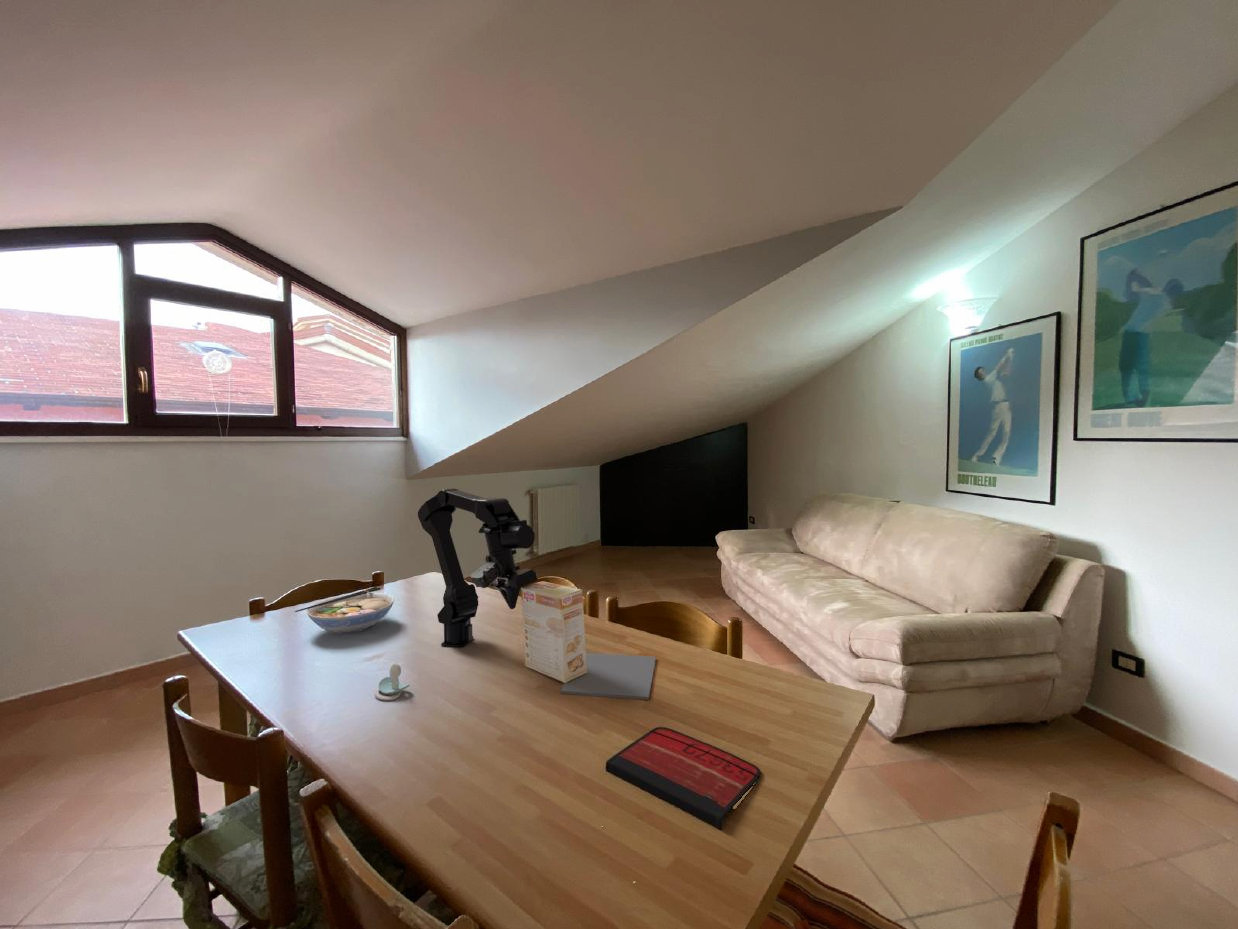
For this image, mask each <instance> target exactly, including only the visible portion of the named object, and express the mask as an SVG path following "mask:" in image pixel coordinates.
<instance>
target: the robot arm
mask: <svg viewBox="0 0 1238 929" xmlns="http://www.w3.org/2000/svg"><path fill="white" fill-rule="evenodd" d="M457 509H459V510H463V511H466V512H469V513H472V514H474V517H475V518H476V519H477V520H479V521H480V522H482V525H481V527H480V528H479V529H478V534H484V537H485V542H486V547H487V551H488V554H487V555H485V558H484V559H485V563H484V564H483V565H481V566H480V567H479V568H477V570H475V571H474V572H473V573H471V575H470V576H469V578H470V579H471V580H472V582H473V583H470V584H469V583H468V582H467V581H466V580H465V577H464V574H463V571H462V567H461V563H460V561H459V556H458V554H457V551H456V546H455V544H454V540H453V537H452V534H451V528H452V524H453V521H454V520H453V514H454V513H455V512H456V511H457ZM417 518H418V520H419V522H420V524H421V527H422V529H423V530H424V531H425V532H426V533H427V534H428V535H429V536H430V537H431V540H432V542H433V546H434V549H435V553H436V556H437V560H438V563H439V567H440V571H441V574H442V578H443V581H444V585H445V590H444V594H443V596H442V602H443V607H442V608H441V609H440V610H439V611H438V613H436V614H437V615H436V616H437V619H438V620H437V621H438V623H440V624H442V625H443V642H441V644H440V646H441V647H453V648H455V647H456V648H457V647H459V648H464V647H465V646H467V644H469V643H470V642H472V640H473V639H474V635H473V623H472V621H471V620H472V618H476V617H477V616H476V615H477V610H478V606H479V596H478V594H477V591H476V588H482V589H486V588H488V587H492V588H494V589H495V590H498V591H499V593H500V594H501V596H502V597H503V599H504V601H505V602H506V604H507V606H508V608H509V609H510V610H514V609H516V607H517V602H518V599H519V595H520V592H521V587H523V586H527V585H530V584H532V583H535V581H538V574H537V570H534V569H533V568H520V565H519V564H516V560H515V557H514V556H515V555H516V554H517V550H518V549H519V550H525V549H530V548H531V547H532V546H533V544H534V542H535V538H536V537H535V532H534V529H533V528H532V527H531V526H530V525H529V524H528V521H527V519H522V520H520V518H519V516H518V514H516V512H515V510H514V509H513V507H512V505H511V504H510V503H509V500H508V499H507V498H505V497H481V496H478V495H475V494H472V493H468V492H467V491H466V492H465V491H462V490H460V489H458V488H444V489H441V490H439V491H438V493H437V494H436V495H433V496H432V497H431V498H429V499H428V500H426V501H424V503H423V504H422V505H421V506H420V508H419V509H418V511H417Z"/></svg>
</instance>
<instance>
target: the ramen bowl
mask: <svg viewBox="0 0 1238 929" xmlns="http://www.w3.org/2000/svg"><path fill="white" fill-rule="evenodd" d="M380 590H381V587H378V586H374V587H371V588H366V589H364V590H363V589H362V590H360V591H356V592H353V593H351V594H343V595H339V596H333V597H328V598H326V599H323V600H319V601H317V602H315V603H313V604H311V605H309V606H307V607H304V608H301V609H297V610H294V611H293V612H294V613H297V612H302V611H305V610H306V611H305V613H306V614H307V616H308V618H309V619H311V621H312V622H313V623H314V624H316V625H317V626H318V627H319V628H320V629H323V630H325V631H329V632H336V633H340V634H353V633H358V632H361V631H363V630H365V629H367V628H368V627H370V626H373V625H375V624H377V623H378V622H379V621H381V620H382V619H383V618H384V617H386V616H387V614H389V612H390V610H391V608H392V607H393V605H394V602H395V597H394V596H393V595H392V594H389V593H384V592H377V591H380Z"/></svg>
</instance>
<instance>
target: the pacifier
mask: <svg viewBox="0 0 1238 929" xmlns="http://www.w3.org/2000/svg"><path fill="white" fill-rule="evenodd" d="M401 674H402V667H401V666H400V664H398V663H393V664H392V665H391V666H390V669H389V676H386V677H384V678H382V679H381V680H380V682H379V683H378V689H377V690H376V691H374V694H373V695H374V697H375V698H376V699H377V700H380V701H392V700H396V699H397V698H400V696H401V694H402V691H403V690H405V689H407V688H409V687H410V686H411V685H410V684H403V685H401V682H400V681H399V677H400V675H401ZM381 693H382V694H386V695H387V696H386V695H382V694H381ZM389 695H391V696H389Z"/></svg>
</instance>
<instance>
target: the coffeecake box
mask: <svg viewBox="0 0 1238 929" xmlns="http://www.w3.org/2000/svg"><path fill="white" fill-rule="evenodd" d="M520 596H521V615H522V631H523V645H524V646H523V647H524V648H523V650H524V664H525V665H524V666H525V667H526V668H529V669H532V670H534V671H536V672H538V673H541V674H543V675H545V676H548V677H550V678H552V679H555V680H557V681H560V682H562V683H563V684H564V683H567V682H569V681H570V680H572V679H575V678H577V677H579V676H581V675H583V674H585V673H587V665H586V653H587V651H586V650H587V649H586V648H587V647H586V632H585V615H584V614H585V613H584V600H583V599H584V597H583V589H581V588H575V587H571V586H566V585H561V584H559V583H558V584H557V583H552V582H547V581H544V580H543V581H538V582H532V583H529V584H527V585H525V586H522V587H521V588H520Z"/></svg>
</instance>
